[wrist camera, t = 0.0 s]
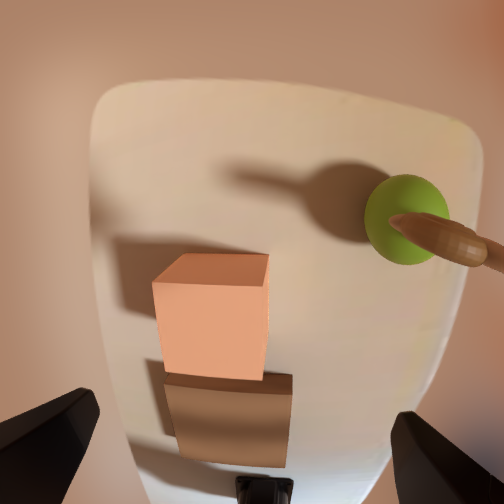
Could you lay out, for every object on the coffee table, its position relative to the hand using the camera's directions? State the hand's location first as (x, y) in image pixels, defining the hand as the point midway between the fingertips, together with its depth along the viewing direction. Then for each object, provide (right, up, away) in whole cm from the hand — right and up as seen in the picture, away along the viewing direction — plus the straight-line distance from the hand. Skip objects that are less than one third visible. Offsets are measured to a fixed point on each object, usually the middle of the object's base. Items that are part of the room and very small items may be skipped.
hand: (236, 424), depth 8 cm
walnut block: (-1, -10, +19) cm, 21 cm away
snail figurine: (+10, +7, +12) cm, 18 cm away
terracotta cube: (-1, +2, +15) cm, 15 cm away
